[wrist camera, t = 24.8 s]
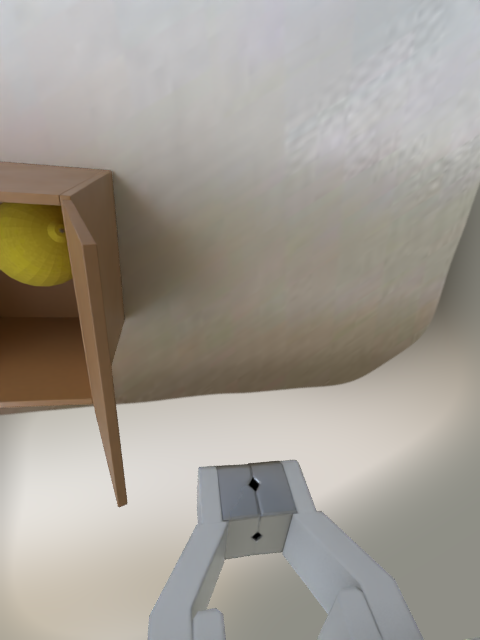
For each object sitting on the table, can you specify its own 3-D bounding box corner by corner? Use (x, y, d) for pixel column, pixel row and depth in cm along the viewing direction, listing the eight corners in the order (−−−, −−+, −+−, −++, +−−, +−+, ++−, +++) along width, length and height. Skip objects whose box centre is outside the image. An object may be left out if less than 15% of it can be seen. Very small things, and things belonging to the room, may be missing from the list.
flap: (81, 244, 9) (97, 244, 9) (61, 199, 14) (71, 200, 14) (118, 508, 15) (127, 504, 15) (95, 412, 19) (102, 410, 20)
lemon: (-30, 280, 21) (-10, 268, 16) (-16, 197, 22) (9, 156, 16) (62, 296, 25) (105, 291, 20) (73, 225, 26) (118, 200, 20)
